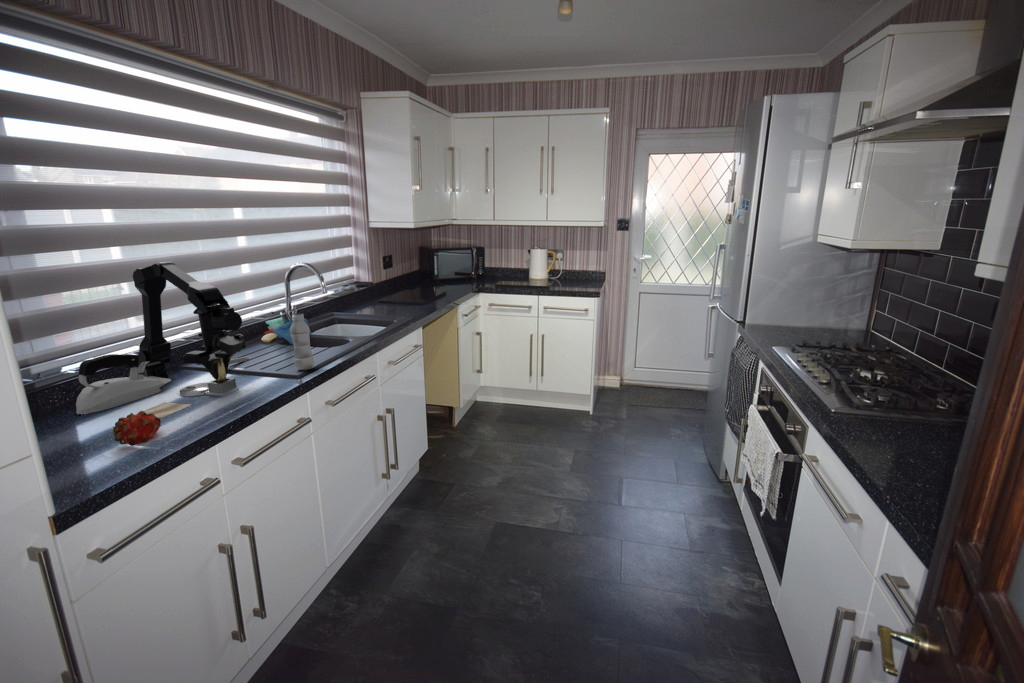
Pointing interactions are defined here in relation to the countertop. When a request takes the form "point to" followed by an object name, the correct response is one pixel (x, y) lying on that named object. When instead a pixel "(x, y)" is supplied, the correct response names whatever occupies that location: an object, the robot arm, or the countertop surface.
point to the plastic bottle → (301, 343)
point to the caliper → (238, 360)
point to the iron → (114, 384)
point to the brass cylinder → (221, 371)
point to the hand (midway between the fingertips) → (220, 377)
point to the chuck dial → (210, 388)
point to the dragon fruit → (136, 428)
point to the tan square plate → (165, 409)
